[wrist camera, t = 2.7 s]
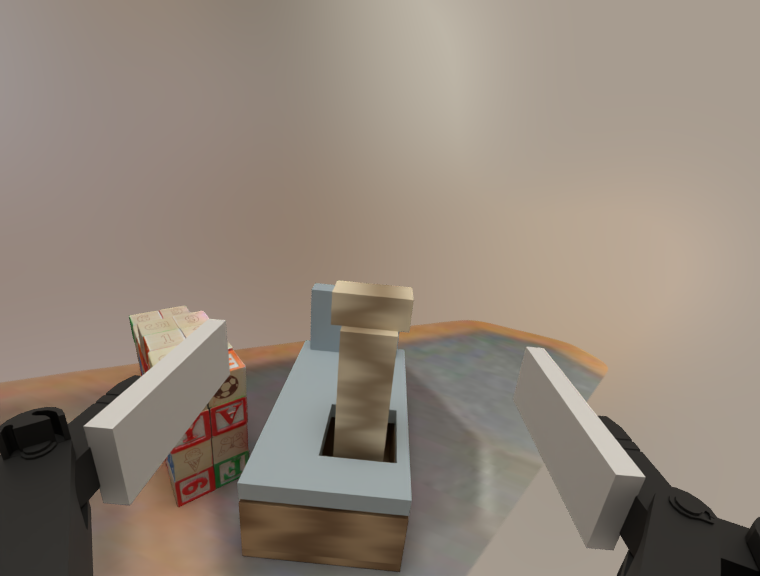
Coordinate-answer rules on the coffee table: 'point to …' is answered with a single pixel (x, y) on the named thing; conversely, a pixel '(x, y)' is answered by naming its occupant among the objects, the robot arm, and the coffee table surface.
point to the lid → (309, 430)
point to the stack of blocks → (216, 421)
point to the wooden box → (325, 528)
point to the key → (366, 363)
